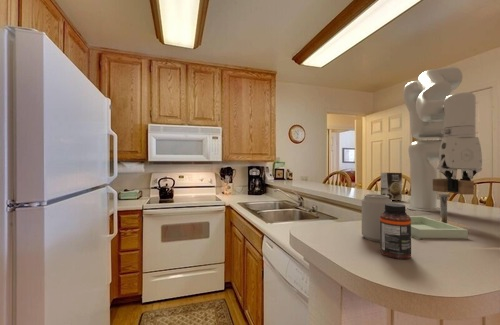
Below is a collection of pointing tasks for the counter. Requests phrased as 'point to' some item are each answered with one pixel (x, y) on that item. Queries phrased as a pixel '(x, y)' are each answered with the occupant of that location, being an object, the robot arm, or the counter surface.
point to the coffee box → (391, 185)
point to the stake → (444, 211)
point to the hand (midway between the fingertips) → (459, 191)
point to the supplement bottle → (395, 231)
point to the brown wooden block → (463, 186)
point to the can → (373, 215)
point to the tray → (435, 229)
